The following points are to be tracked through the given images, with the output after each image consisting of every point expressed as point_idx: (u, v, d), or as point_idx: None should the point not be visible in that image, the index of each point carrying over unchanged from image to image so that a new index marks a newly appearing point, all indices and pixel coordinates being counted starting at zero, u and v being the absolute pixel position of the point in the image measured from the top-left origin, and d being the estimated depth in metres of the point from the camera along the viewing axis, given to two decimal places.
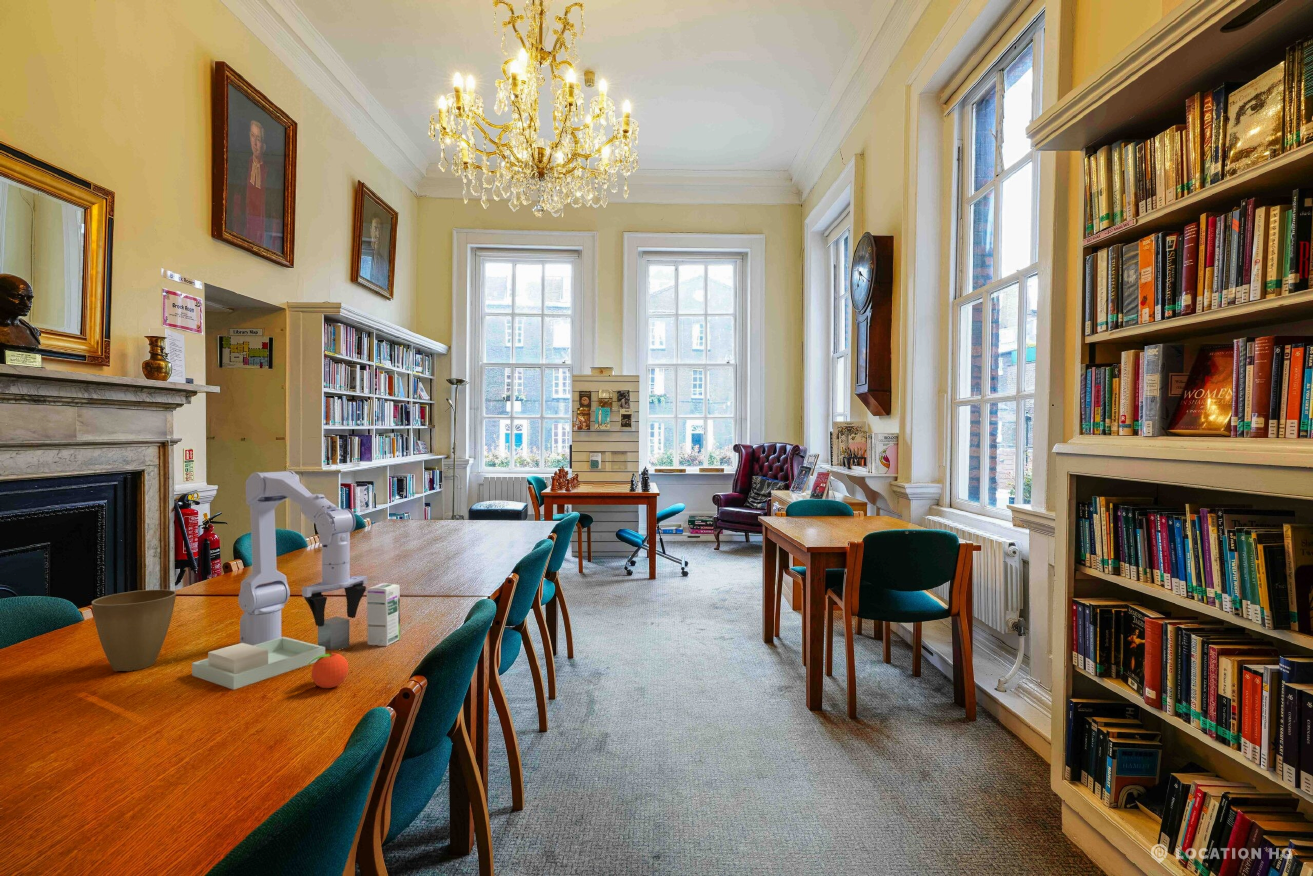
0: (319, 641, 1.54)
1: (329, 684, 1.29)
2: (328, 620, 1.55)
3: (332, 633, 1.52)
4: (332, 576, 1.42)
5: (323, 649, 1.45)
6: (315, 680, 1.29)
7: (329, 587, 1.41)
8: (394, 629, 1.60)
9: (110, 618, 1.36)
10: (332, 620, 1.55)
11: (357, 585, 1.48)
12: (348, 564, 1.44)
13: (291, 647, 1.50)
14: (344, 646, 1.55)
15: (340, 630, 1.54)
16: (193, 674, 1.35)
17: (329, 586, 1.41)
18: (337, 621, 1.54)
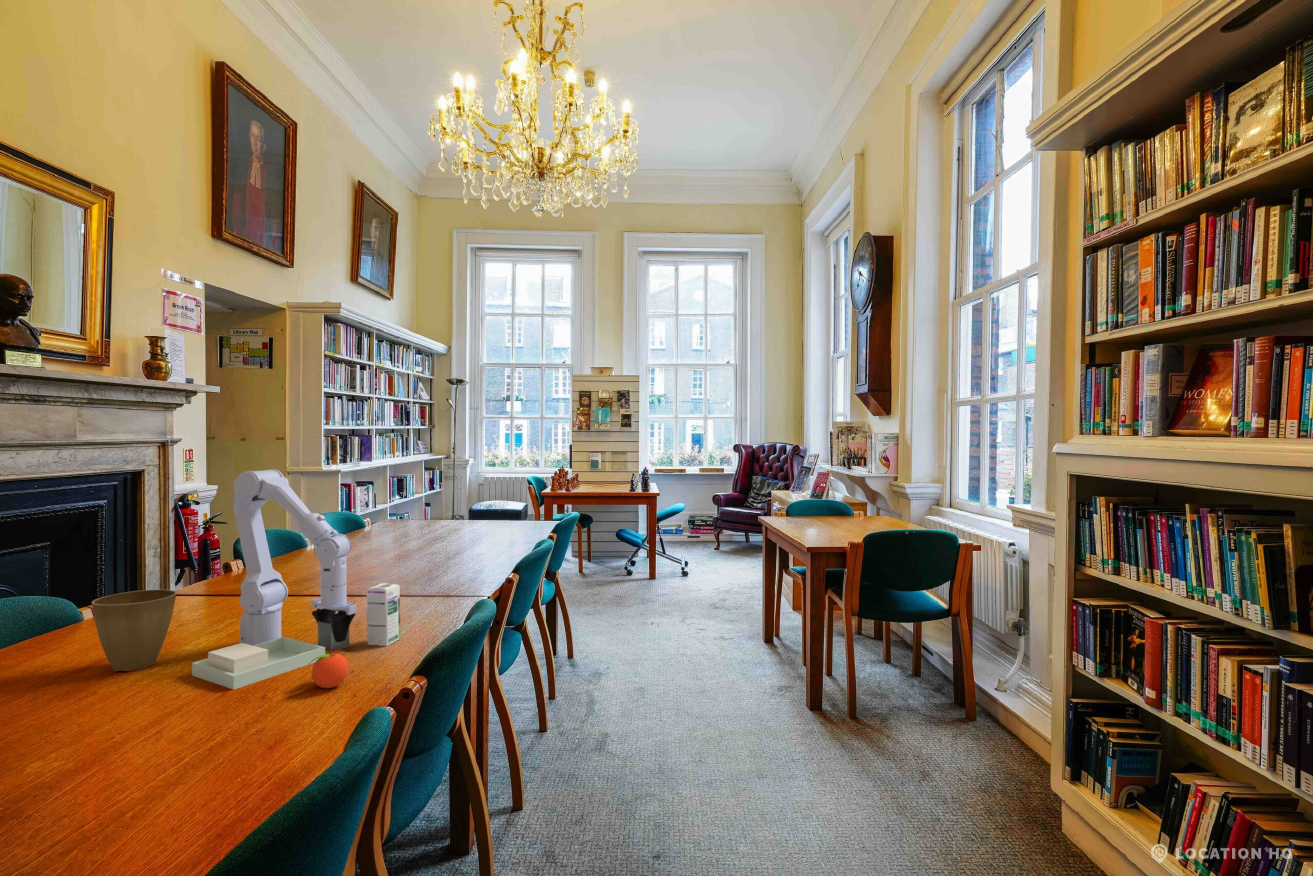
0: (319, 641, 1.54)
1: (329, 684, 1.29)
2: (328, 620, 1.55)
3: (332, 633, 1.52)
4: None
5: (323, 649, 1.45)
6: (315, 680, 1.29)
7: (318, 605, 1.55)
8: (394, 629, 1.60)
9: (110, 618, 1.36)
10: None
11: (343, 613, 1.52)
12: (329, 589, 1.52)
13: (291, 647, 1.50)
14: (344, 646, 1.55)
15: None
16: (193, 674, 1.35)
17: (318, 604, 1.55)
18: None
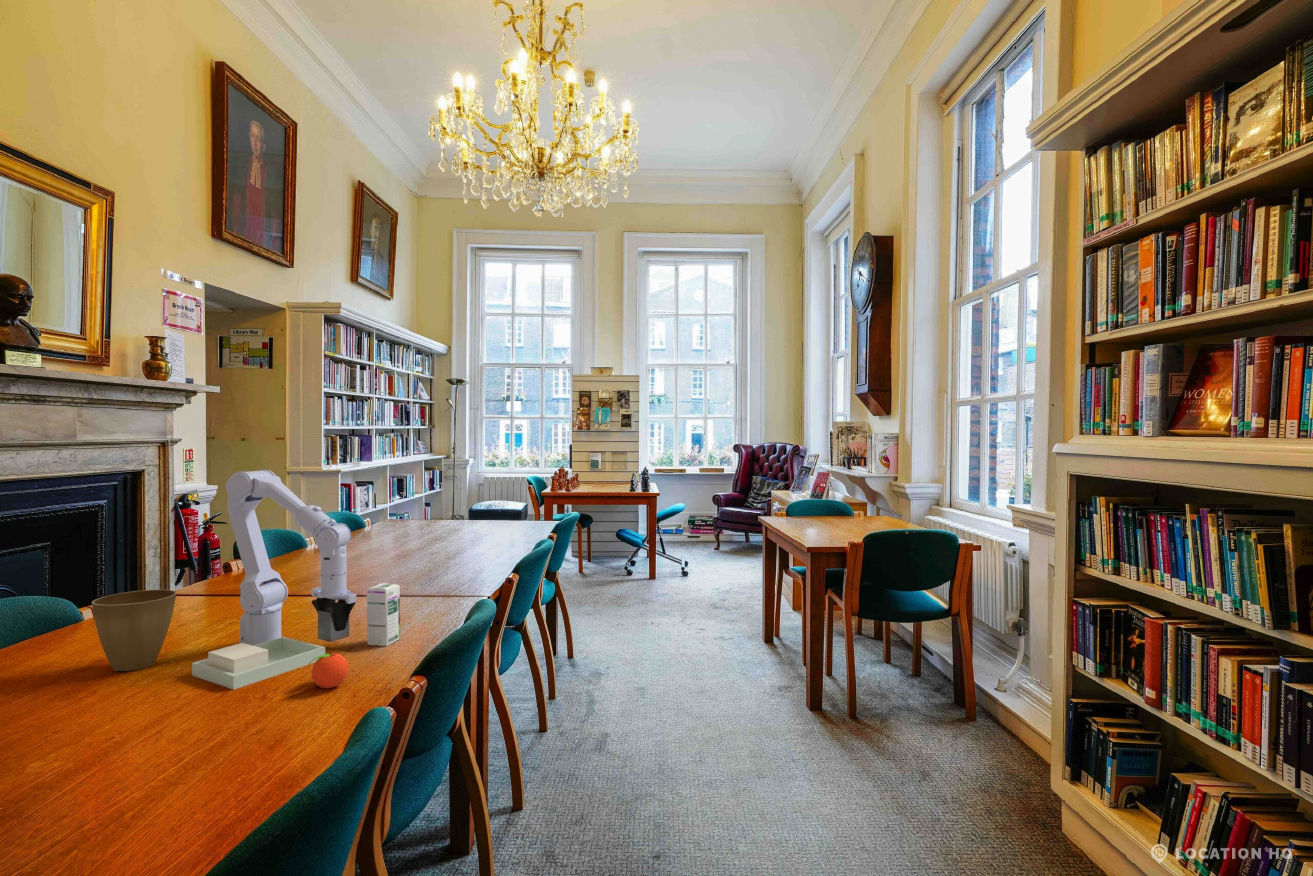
0: (319, 630, 1.54)
1: (329, 684, 1.29)
2: (328, 609, 1.55)
3: (332, 622, 1.52)
4: None
5: (323, 649, 1.45)
6: (315, 680, 1.29)
7: (318, 594, 1.55)
8: (394, 629, 1.60)
9: (110, 618, 1.36)
10: None
11: (343, 601, 1.52)
12: (329, 578, 1.52)
13: (291, 647, 1.50)
14: (344, 635, 1.55)
15: None
16: (193, 674, 1.35)
17: (318, 593, 1.55)
18: None
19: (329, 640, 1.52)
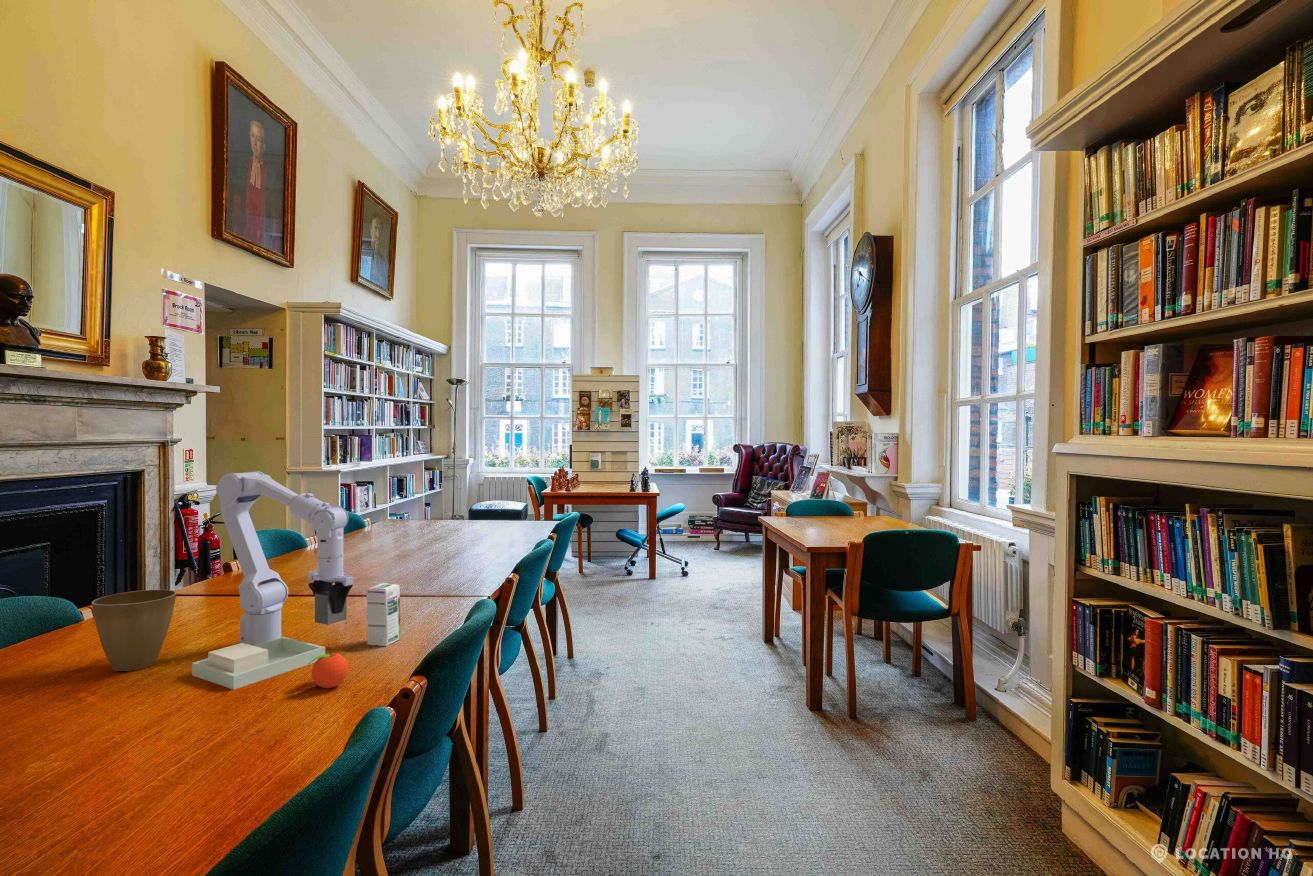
0: (316, 613, 1.53)
1: (329, 684, 1.29)
2: (325, 592, 1.54)
3: (329, 605, 1.52)
4: None
5: (323, 649, 1.45)
6: (315, 680, 1.29)
7: (314, 576, 1.54)
8: (394, 629, 1.60)
9: (110, 618, 1.36)
10: None
11: (340, 584, 1.51)
12: (326, 560, 1.52)
13: (291, 647, 1.50)
14: (341, 618, 1.54)
15: None
16: (193, 674, 1.35)
17: (314, 575, 1.54)
18: None
19: (326, 623, 1.51)
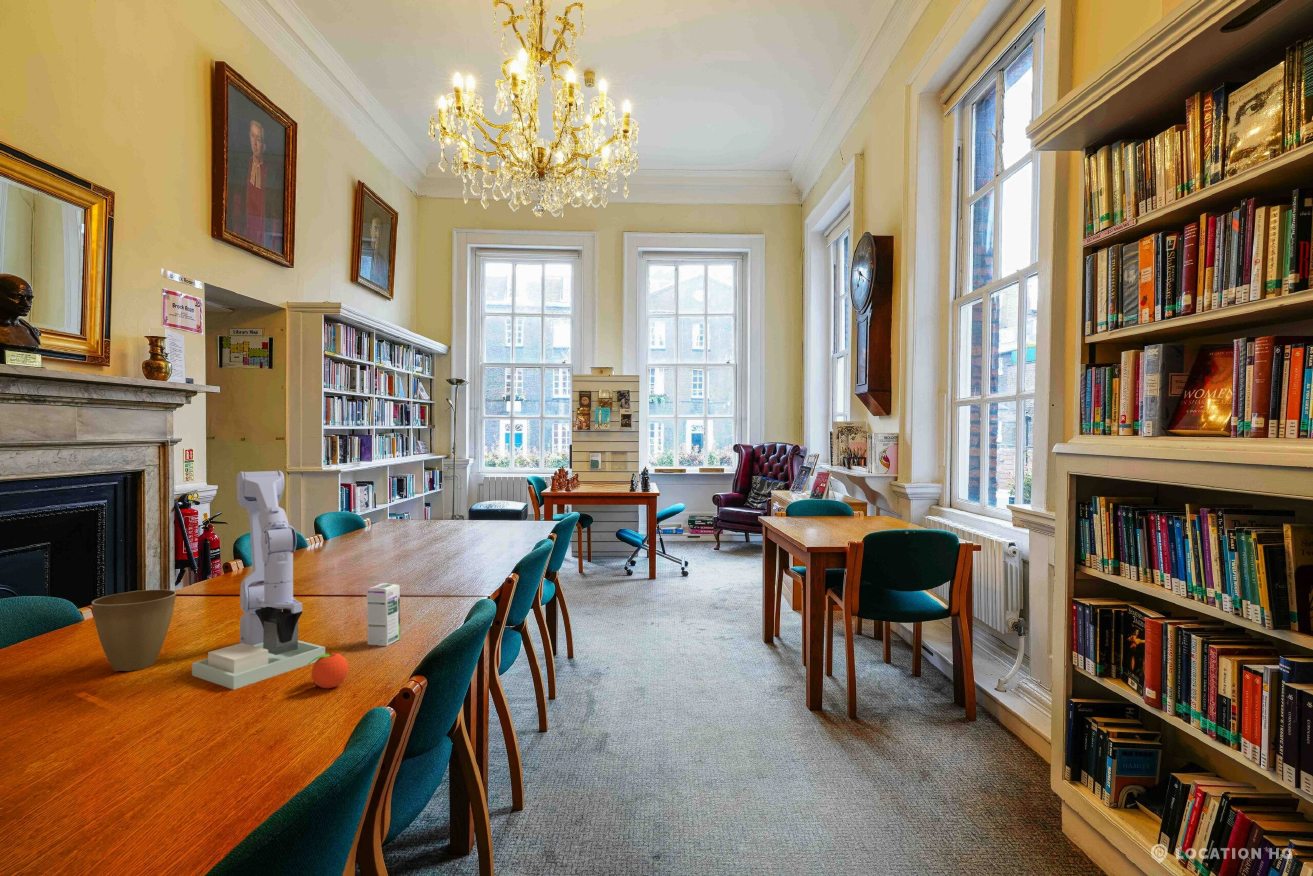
0: (264, 642, 1.43)
1: (329, 684, 1.29)
2: (275, 619, 1.45)
3: None
4: None
5: (323, 649, 1.45)
6: (315, 680, 1.29)
7: (261, 602, 1.44)
8: (394, 629, 1.60)
9: (110, 618, 1.36)
10: None
11: (287, 611, 1.41)
12: (273, 586, 1.41)
13: None
14: (292, 648, 1.44)
15: None
16: (193, 674, 1.35)
17: (261, 601, 1.44)
18: None
19: (274, 653, 1.41)
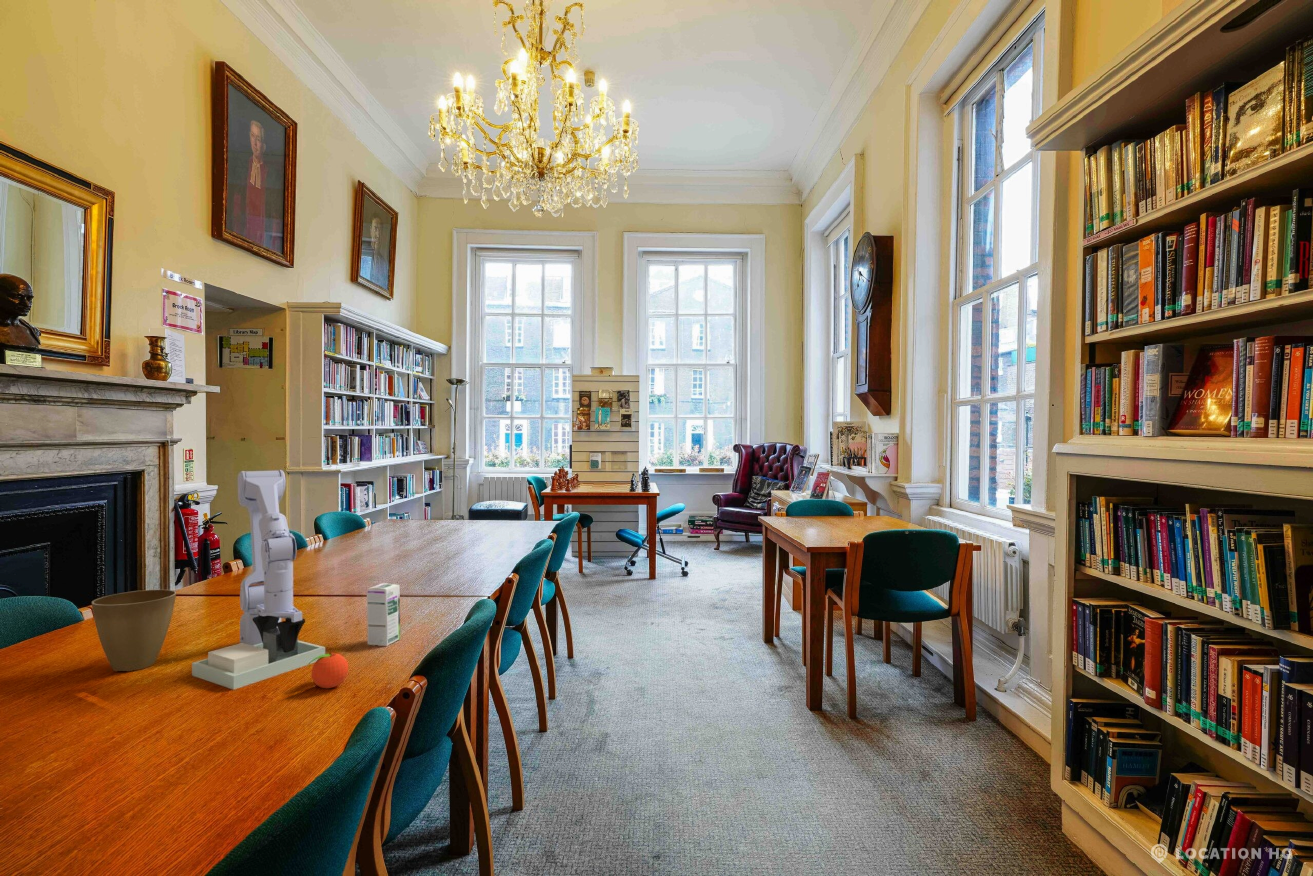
0: None
1: (329, 684, 1.29)
2: (274, 630, 1.44)
3: (278, 644, 1.42)
4: None
5: (323, 649, 1.45)
6: (315, 680, 1.29)
7: (261, 611, 1.44)
8: (394, 629, 1.60)
9: (110, 618, 1.36)
10: None
11: (287, 620, 1.41)
12: (273, 594, 1.41)
13: None
14: None
15: None
16: (193, 674, 1.35)
17: (261, 610, 1.44)
18: None
19: None
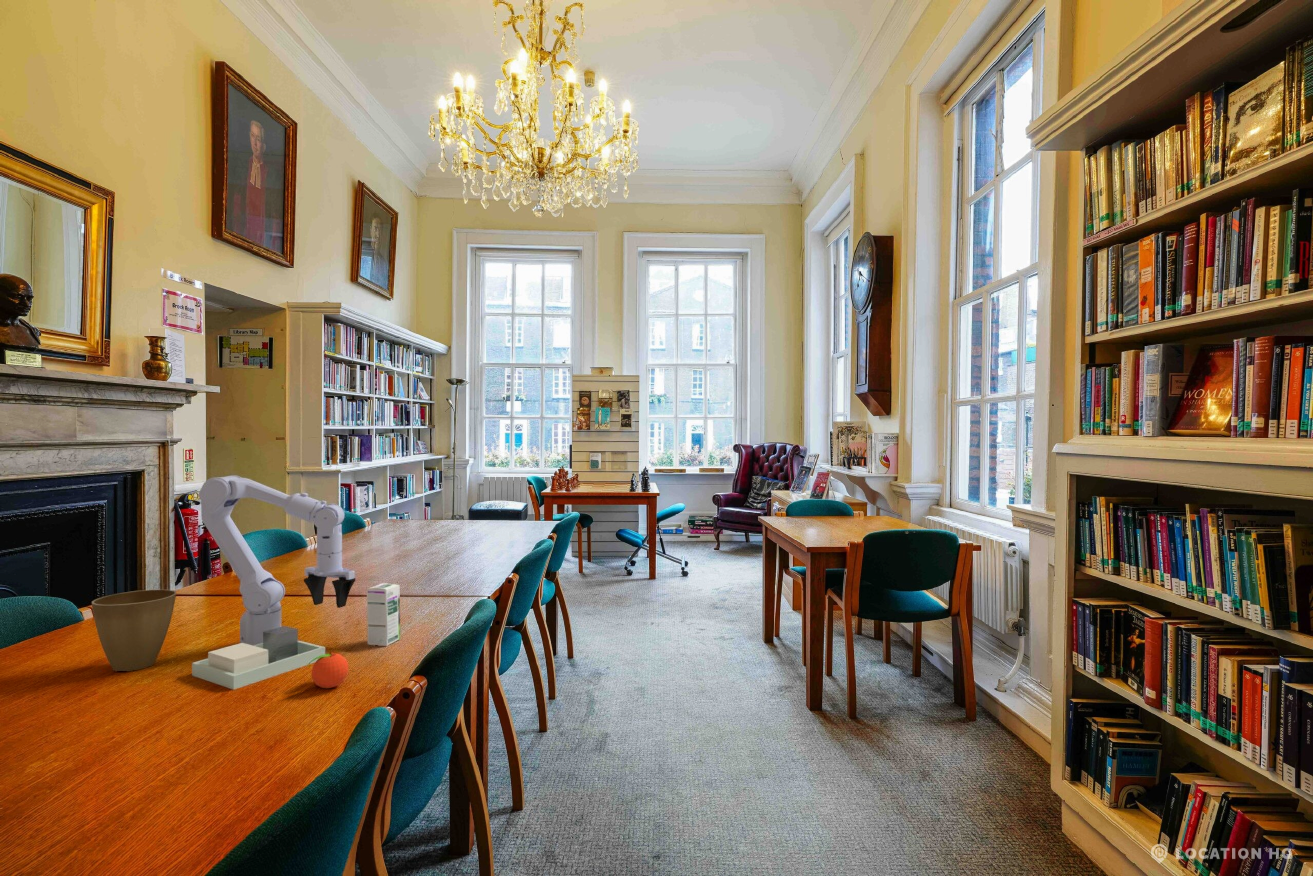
0: None
1: (329, 684, 1.29)
2: (274, 630, 1.44)
3: (278, 644, 1.42)
4: None
5: (323, 649, 1.45)
6: (315, 680, 1.29)
7: (313, 572, 1.59)
8: (394, 629, 1.60)
9: (110, 618, 1.36)
10: (279, 630, 1.44)
11: (341, 578, 1.57)
12: (327, 556, 1.57)
13: None
14: None
15: (287, 641, 1.43)
16: (193, 674, 1.35)
17: (313, 571, 1.59)
18: (284, 631, 1.44)
19: None
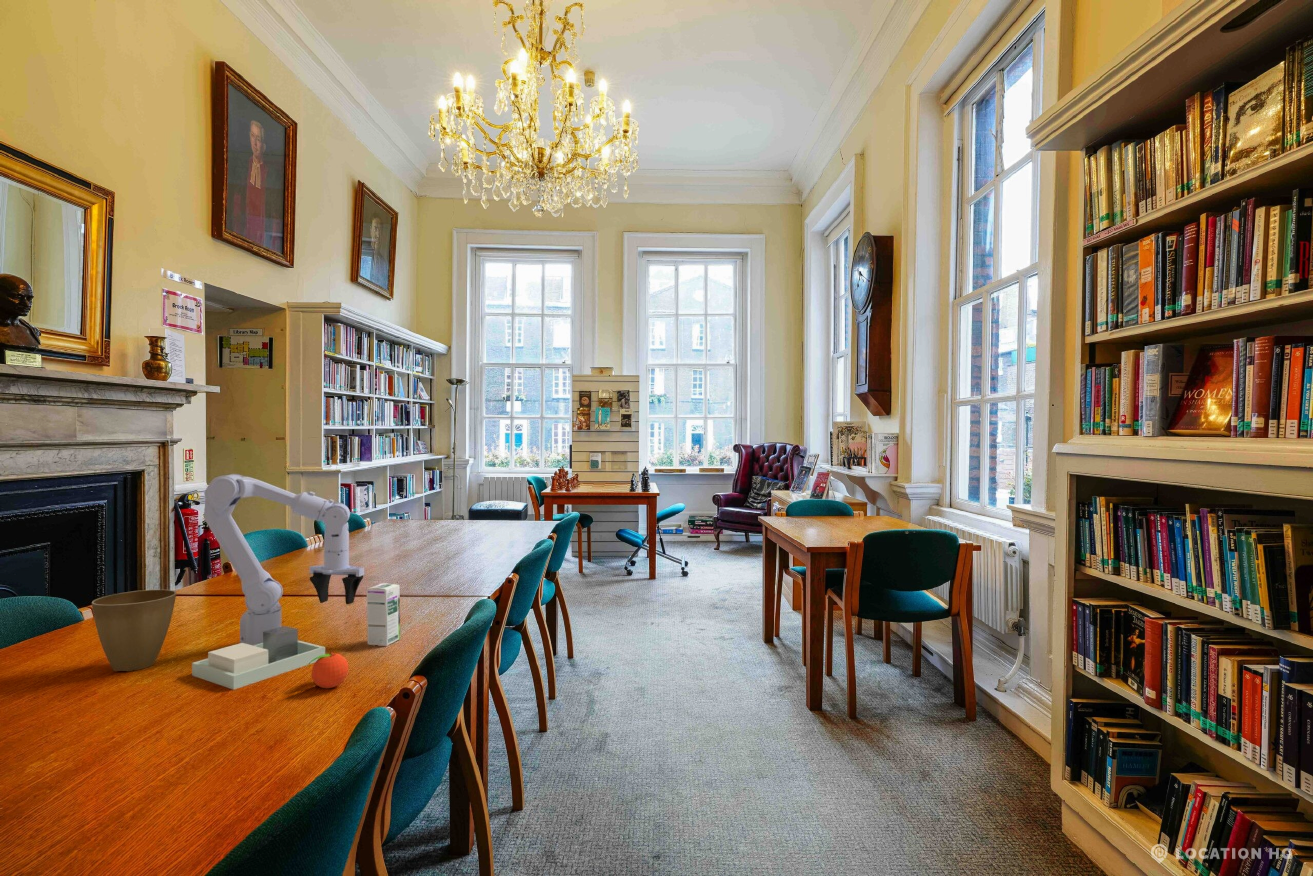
0: None
1: (329, 684, 1.29)
2: (274, 630, 1.44)
3: (278, 644, 1.42)
4: (324, 561, 1.61)
5: (323, 649, 1.45)
6: (315, 680, 1.29)
7: (321, 570, 1.61)
8: (394, 629, 1.60)
9: (110, 618, 1.36)
10: (279, 630, 1.44)
11: (351, 575, 1.61)
12: (336, 554, 1.60)
13: None
14: None
15: (287, 641, 1.43)
16: (193, 674, 1.35)
17: (320, 569, 1.61)
18: (284, 631, 1.44)
19: None
